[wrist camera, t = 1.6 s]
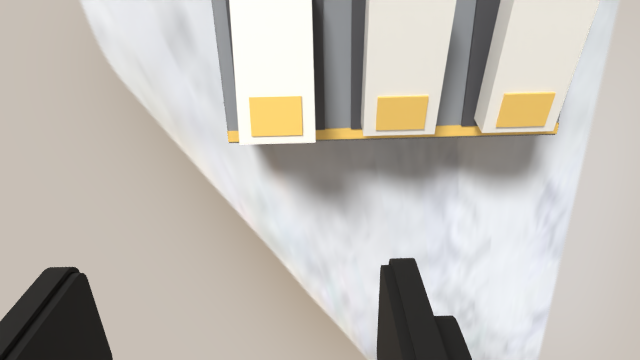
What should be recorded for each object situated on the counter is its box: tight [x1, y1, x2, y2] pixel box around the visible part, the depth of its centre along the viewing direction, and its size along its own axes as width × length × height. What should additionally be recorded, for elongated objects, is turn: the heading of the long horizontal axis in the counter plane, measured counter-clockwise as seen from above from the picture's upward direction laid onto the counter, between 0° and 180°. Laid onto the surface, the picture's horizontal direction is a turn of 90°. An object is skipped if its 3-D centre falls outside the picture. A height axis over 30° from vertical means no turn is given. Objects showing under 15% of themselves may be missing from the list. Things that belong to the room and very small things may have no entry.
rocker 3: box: [474, 0, 600, 133], centre depth 21 cm, size 7×4×2 cm, turn 1°
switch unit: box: [212, 0, 561, 143], centre depth 25 cm, size 9×18×5 cm, turn 91°
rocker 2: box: [361, 0, 456, 136], centre depth 21 cm, size 7×4×2 cm, turn 1°
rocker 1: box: [229, 0, 316, 145], centre depth 21 cm, size 7×4×2 cm, turn 2°
